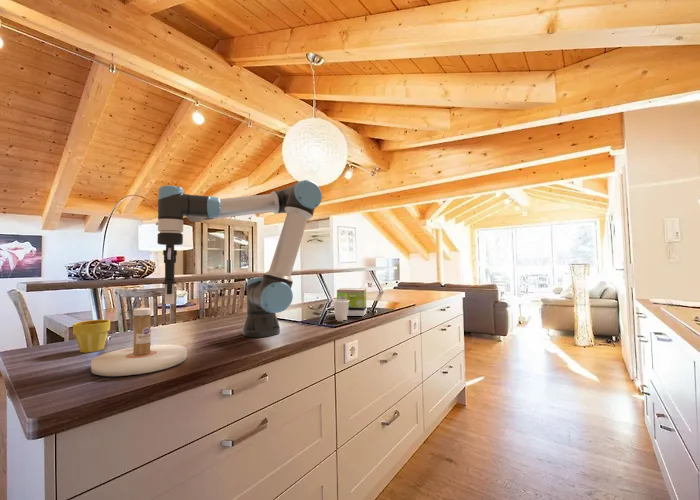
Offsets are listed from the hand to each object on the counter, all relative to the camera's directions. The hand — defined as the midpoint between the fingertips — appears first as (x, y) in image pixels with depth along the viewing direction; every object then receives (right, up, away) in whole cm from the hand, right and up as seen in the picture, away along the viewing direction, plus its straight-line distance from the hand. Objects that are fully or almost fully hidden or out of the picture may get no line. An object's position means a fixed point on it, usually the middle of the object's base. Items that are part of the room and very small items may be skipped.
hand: (169, 303), depth 114 cm
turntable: (-2, -16, -12) cm, 20 cm away
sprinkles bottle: (-2, -13, -12) cm, 18 cm away
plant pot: (-30, -17, +5) cm, 35 cm away
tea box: (+61, -18, +74) cm, 97 cm away
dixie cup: (+56, -18, +59) cm, 83 cm away
